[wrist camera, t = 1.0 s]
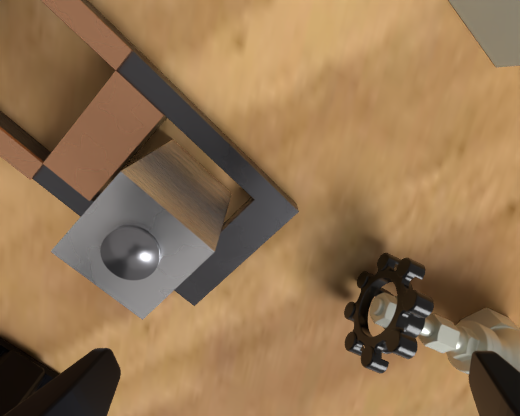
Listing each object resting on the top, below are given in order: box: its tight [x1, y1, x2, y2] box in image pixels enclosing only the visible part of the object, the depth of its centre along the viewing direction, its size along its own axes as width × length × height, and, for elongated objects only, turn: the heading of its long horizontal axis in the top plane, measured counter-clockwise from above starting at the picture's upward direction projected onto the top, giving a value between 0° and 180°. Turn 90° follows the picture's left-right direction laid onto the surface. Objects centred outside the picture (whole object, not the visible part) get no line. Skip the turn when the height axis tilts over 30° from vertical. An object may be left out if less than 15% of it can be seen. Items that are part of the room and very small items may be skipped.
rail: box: [0, 0, 299, 306], centre depth 17 cm, size 30×9×1 cm, turn 45°
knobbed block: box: [51, 139, 231, 320], centre depth 16 cm, size 4×4×8 cm
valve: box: [344, 253, 520, 374], centre depth 20 cm, size 7×7×12 cm
